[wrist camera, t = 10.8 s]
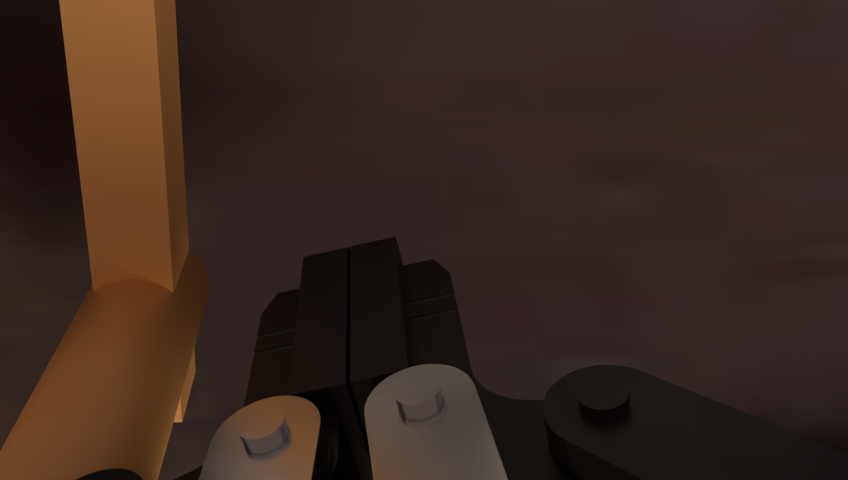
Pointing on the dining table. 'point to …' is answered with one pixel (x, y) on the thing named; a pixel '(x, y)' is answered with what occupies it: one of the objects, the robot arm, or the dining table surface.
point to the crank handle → (120, 257)
